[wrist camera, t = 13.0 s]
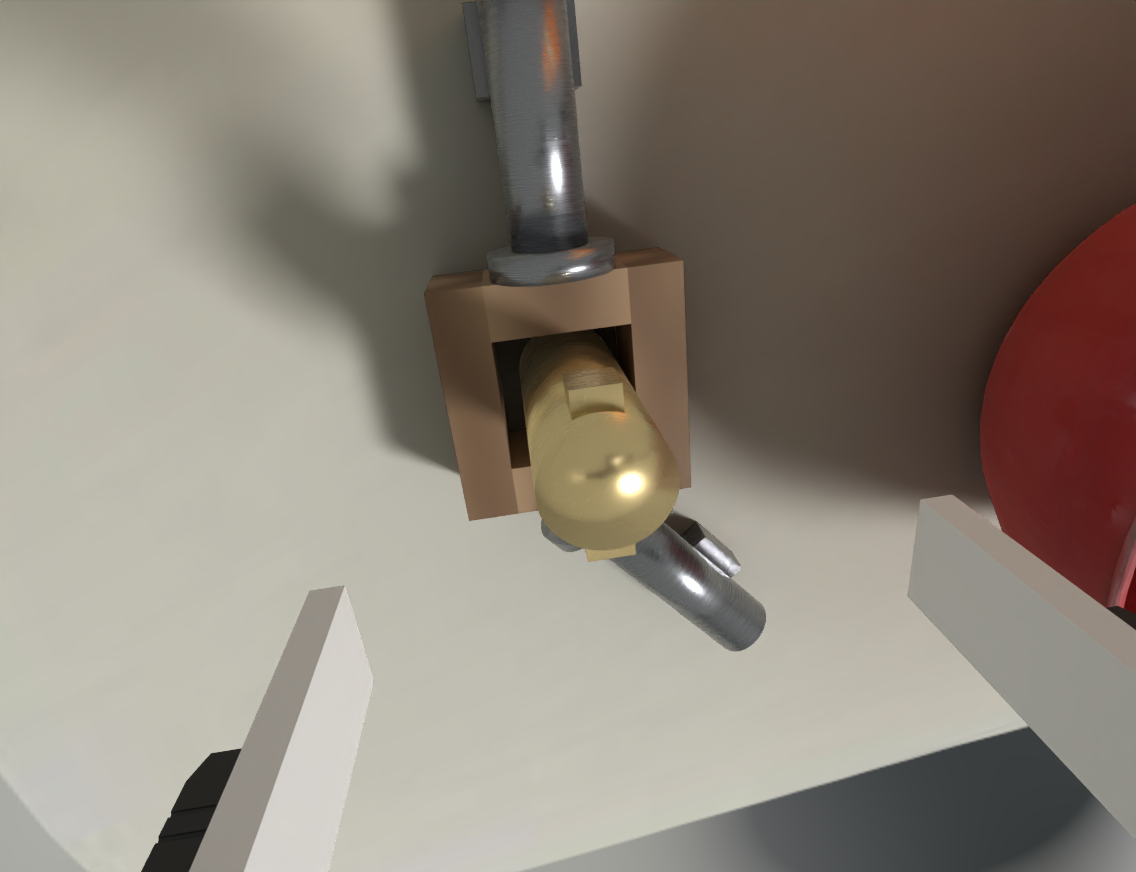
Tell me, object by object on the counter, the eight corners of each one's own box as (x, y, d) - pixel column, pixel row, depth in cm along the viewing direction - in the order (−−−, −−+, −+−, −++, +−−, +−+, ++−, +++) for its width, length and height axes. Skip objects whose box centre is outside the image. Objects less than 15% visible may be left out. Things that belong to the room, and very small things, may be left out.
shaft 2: (537, 498, 33) (545, 559, 28) (605, 430, 32) (627, 481, 27) (690, 617, 37) (722, 689, 32) (755, 560, 36) (799, 626, 31)
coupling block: (658, 247, 29) (683, 260, 25) (668, 450, 33) (691, 487, 29) (432, 276, 28) (423, 294, 24) (471, 479, 32) (469, 520, 28)
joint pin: (606, 299, 29) (675, 384, 18) (616, 420, 32) (683, 560, 21) (510, 312, 29) (521, 405, 18) (527, 433, 31) (547, 581, 20)
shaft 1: (602, 254, 28) (627, 274, 23) (490, 269, 28) (490, 293, 23) (580, -16, 24) (604, -62, 19) (447, -3, 24) (436, -46, 19)
